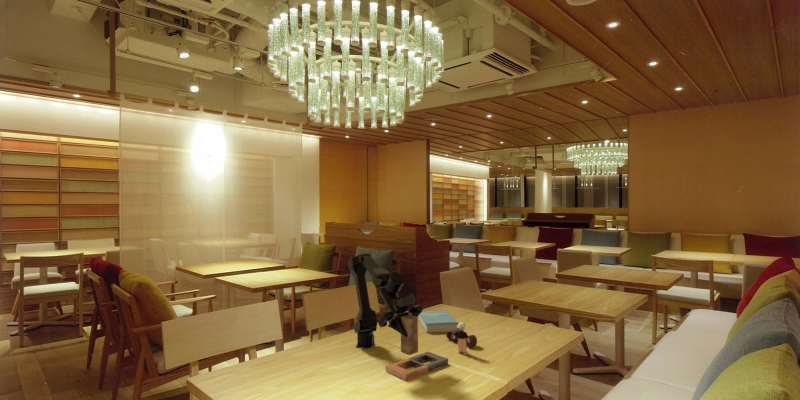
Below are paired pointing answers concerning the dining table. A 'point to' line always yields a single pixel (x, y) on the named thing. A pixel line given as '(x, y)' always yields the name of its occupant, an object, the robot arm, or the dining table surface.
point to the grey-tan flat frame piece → (416, 365)
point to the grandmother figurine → (461, 339)
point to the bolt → (472, 338)
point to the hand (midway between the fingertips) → (411, 335)
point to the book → (438, 322)
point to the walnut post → (409, 335)
